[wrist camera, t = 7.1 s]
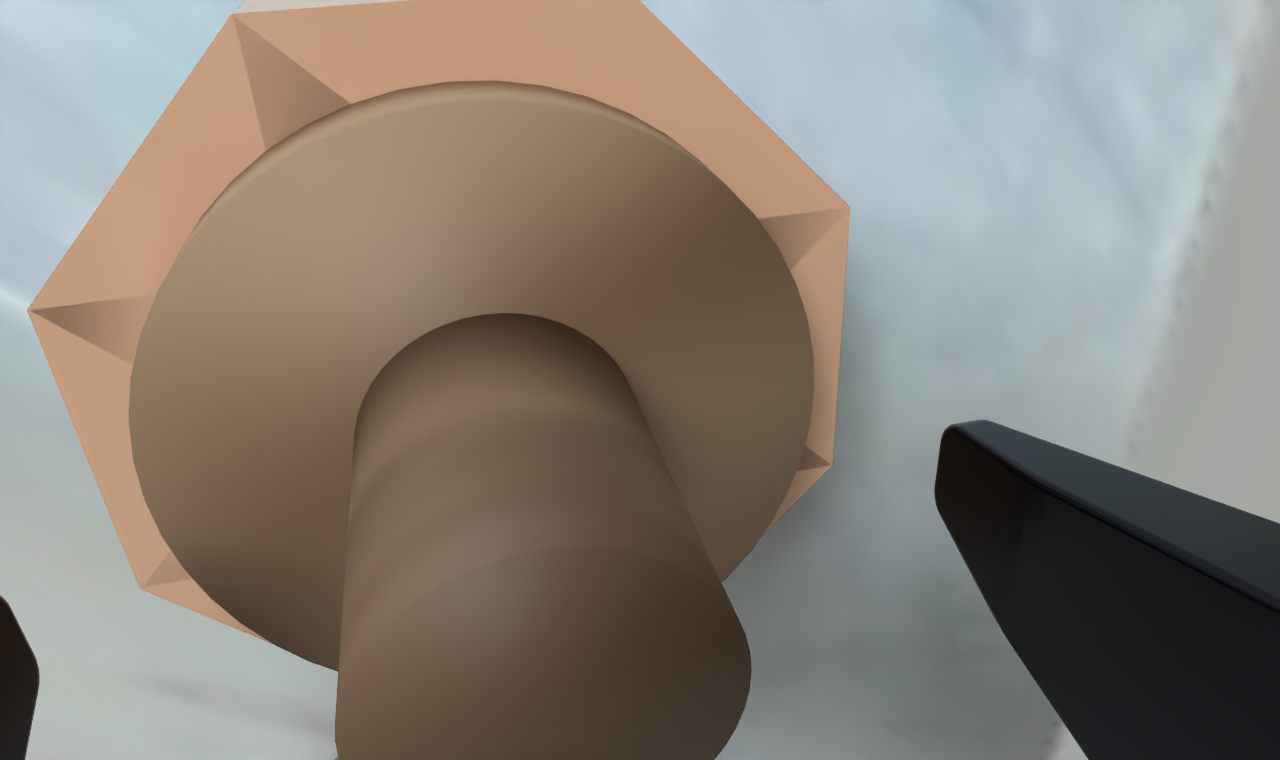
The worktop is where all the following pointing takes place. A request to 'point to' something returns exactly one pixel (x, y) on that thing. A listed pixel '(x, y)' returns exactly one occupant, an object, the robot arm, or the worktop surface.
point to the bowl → (358, 70)
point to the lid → (481, 422)
